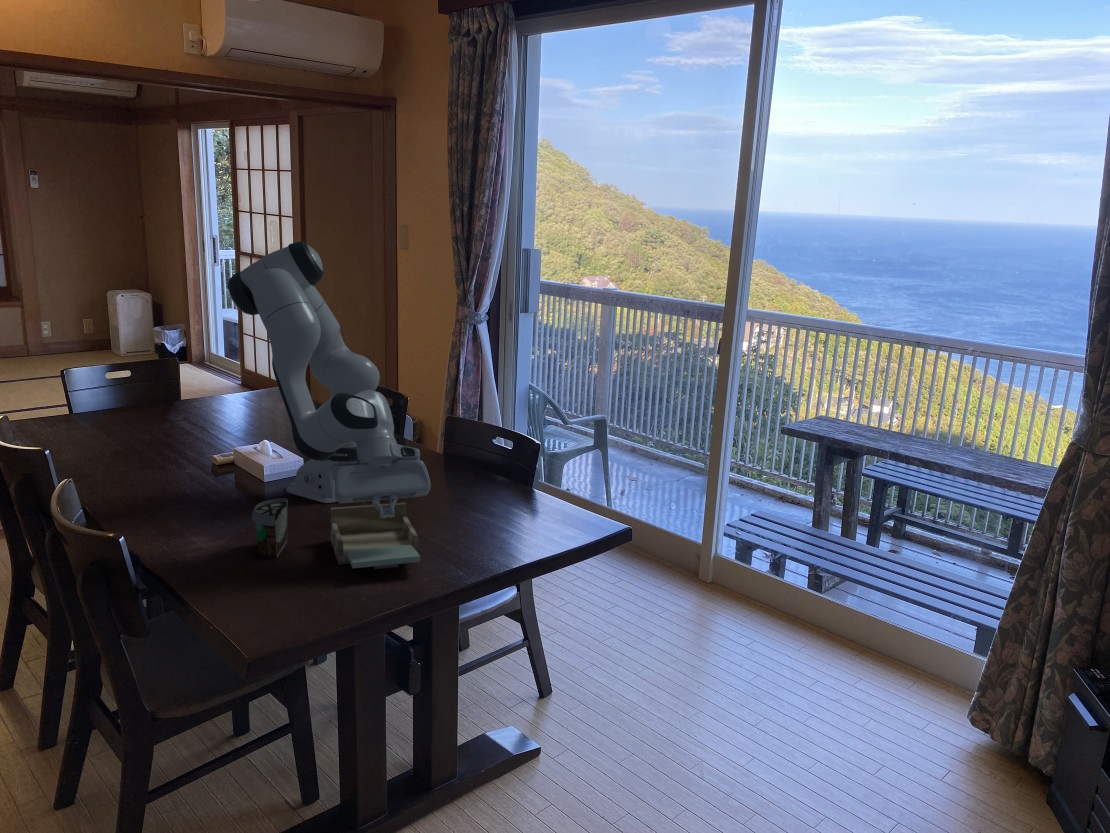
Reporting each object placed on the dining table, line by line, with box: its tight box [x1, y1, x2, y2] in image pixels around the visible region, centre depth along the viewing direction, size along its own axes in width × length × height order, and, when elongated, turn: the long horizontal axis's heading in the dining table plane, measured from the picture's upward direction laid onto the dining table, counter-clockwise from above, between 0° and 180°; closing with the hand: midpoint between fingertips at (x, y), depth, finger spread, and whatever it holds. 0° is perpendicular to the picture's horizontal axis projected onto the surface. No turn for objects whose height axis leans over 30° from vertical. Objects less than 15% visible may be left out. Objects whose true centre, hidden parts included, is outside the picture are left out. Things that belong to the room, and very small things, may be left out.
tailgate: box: [346, 544, 421, 570], centre depth 170 cm, size 2×14×9 cm
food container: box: [251, 498, 289, 559], centre depth 176 cm, size 12×6×10 cm, turn 5°
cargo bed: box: [330, 501, 419, 566], centre depth 180 cm, size 14×17×8 cm
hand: (387, 516), depth 168 cm, fingers closed
